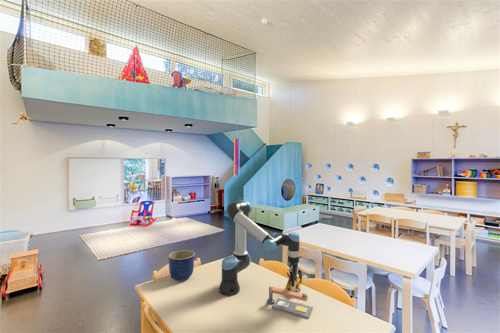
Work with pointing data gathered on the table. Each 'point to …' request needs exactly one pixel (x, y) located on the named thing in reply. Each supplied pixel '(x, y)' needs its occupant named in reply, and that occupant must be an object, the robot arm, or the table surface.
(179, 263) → the planter
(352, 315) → the table surface
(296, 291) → the toy
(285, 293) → the swing arm
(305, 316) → the label board
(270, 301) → the pivot pedestal
